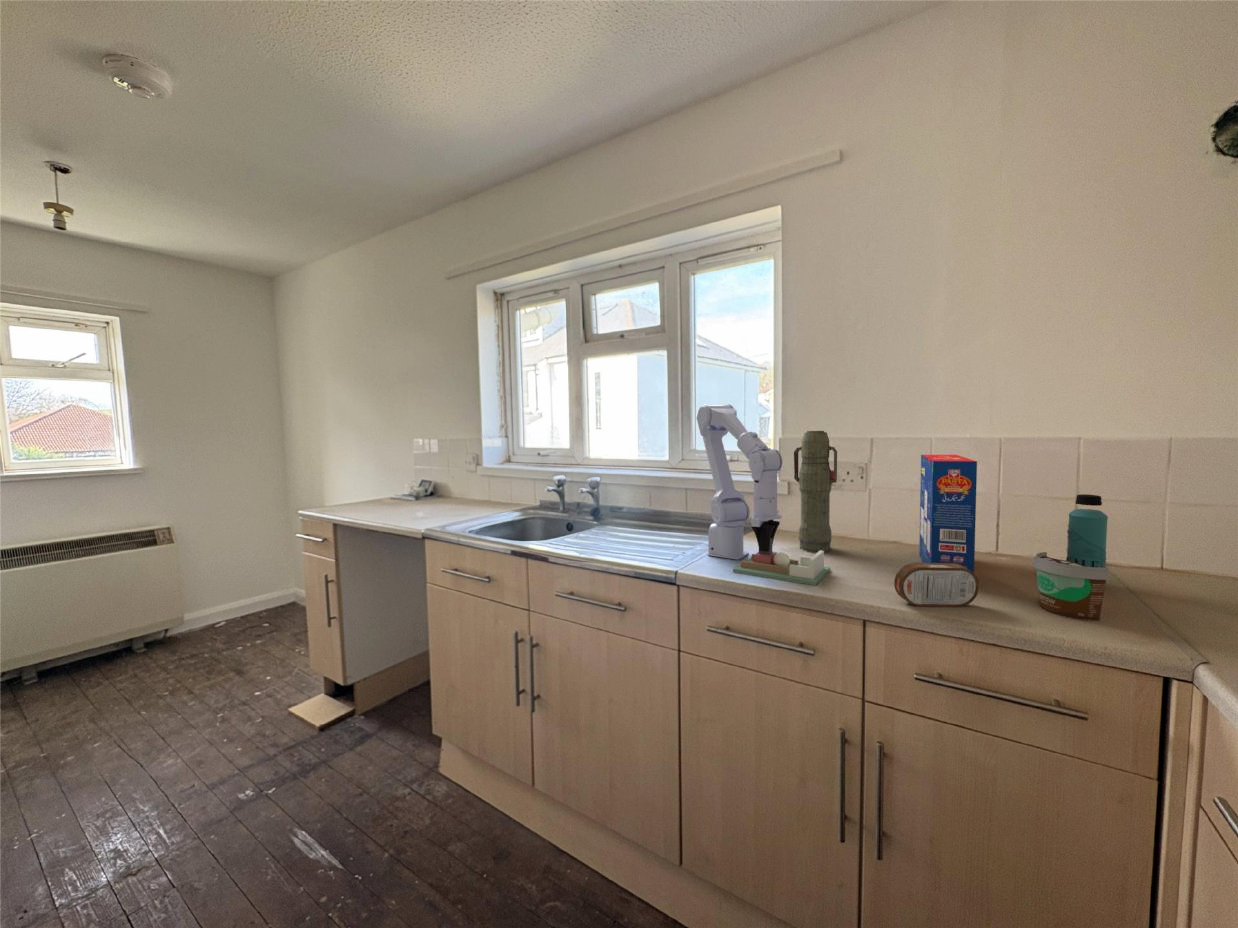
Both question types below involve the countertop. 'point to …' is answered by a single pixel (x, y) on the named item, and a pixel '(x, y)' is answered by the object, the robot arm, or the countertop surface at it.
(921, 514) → the pasta box
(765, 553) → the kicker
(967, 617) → the countertop surface
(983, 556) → the countertop surface
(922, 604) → the tin
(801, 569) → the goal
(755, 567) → the pitch
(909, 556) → the countertop surface
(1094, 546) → the beverage bottle
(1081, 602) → the food container
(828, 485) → the thermos
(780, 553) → the ball
